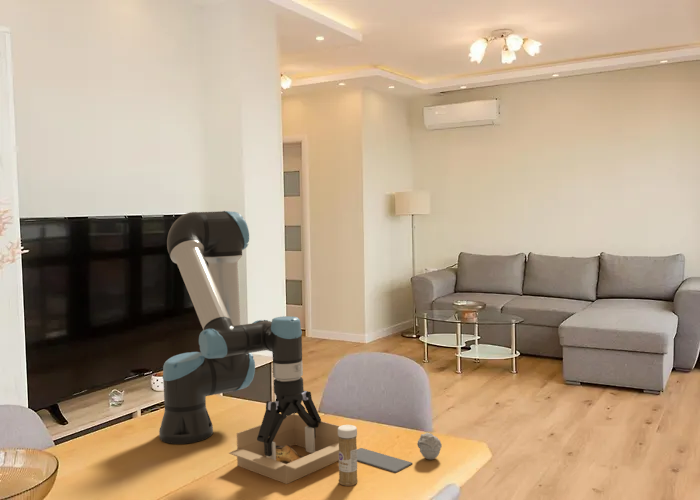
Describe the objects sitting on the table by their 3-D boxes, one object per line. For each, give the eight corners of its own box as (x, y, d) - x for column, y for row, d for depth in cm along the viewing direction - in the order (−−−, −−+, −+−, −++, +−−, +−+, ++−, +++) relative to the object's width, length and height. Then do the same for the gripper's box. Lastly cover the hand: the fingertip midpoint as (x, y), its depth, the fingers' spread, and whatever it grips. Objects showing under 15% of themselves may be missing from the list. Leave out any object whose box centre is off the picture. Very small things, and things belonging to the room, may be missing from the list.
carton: (228, 469, 169) (227, 436, 168) (294, 443, 186) (293, 413, 186) (286, 491, 155) (285, 455, 154) (351, 461, 172) (351, 428, 172)
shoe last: (309, 470, 168) (309, 452, 168) (265, 460, 175) (265, 443, 175) (318, 464, 172) (318, 446, 172) (275, 455, 179) (275, 437, 178)
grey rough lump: (412, 460, 172) (412, 434, 171) (426, 452, 177) (426, 426, 177) (433, 466, 168) (432, 438, 168) (446, 457, 174) (446, 430, 173)
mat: (343, 456, 175) (343, 455, 175) (361, 449, 181) (361, 447, 181) (395, 472, 164) (395, 471, 164) (412, 464, 169) (412, 462, 169)
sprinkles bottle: (334, 483, 159) (333, 427, 158) (347, 477, 162) (346, 422, 161) (349, 488, 156) (348, 431, 155) (362, 481, 159) (360, 426, 158)
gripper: (261, 390, 159) (264, 478, 160) (332, 370, 178) (335, 448, 179) (240, 386, 164) (244, 471, 164) (311, 367, 183) (314, 443, 184)
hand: (291, 460), depth 172 cm, fingers open, 13 cm apart
